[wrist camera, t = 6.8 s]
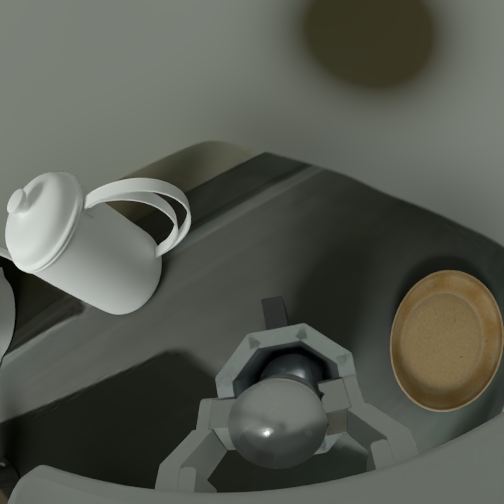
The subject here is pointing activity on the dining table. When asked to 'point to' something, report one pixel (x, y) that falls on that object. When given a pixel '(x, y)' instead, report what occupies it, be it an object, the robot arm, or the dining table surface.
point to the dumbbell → (280, 414)
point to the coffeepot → (90, 238)
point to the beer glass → (8, 474)
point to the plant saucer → (446, 340)
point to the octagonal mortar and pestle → (281, 343)
